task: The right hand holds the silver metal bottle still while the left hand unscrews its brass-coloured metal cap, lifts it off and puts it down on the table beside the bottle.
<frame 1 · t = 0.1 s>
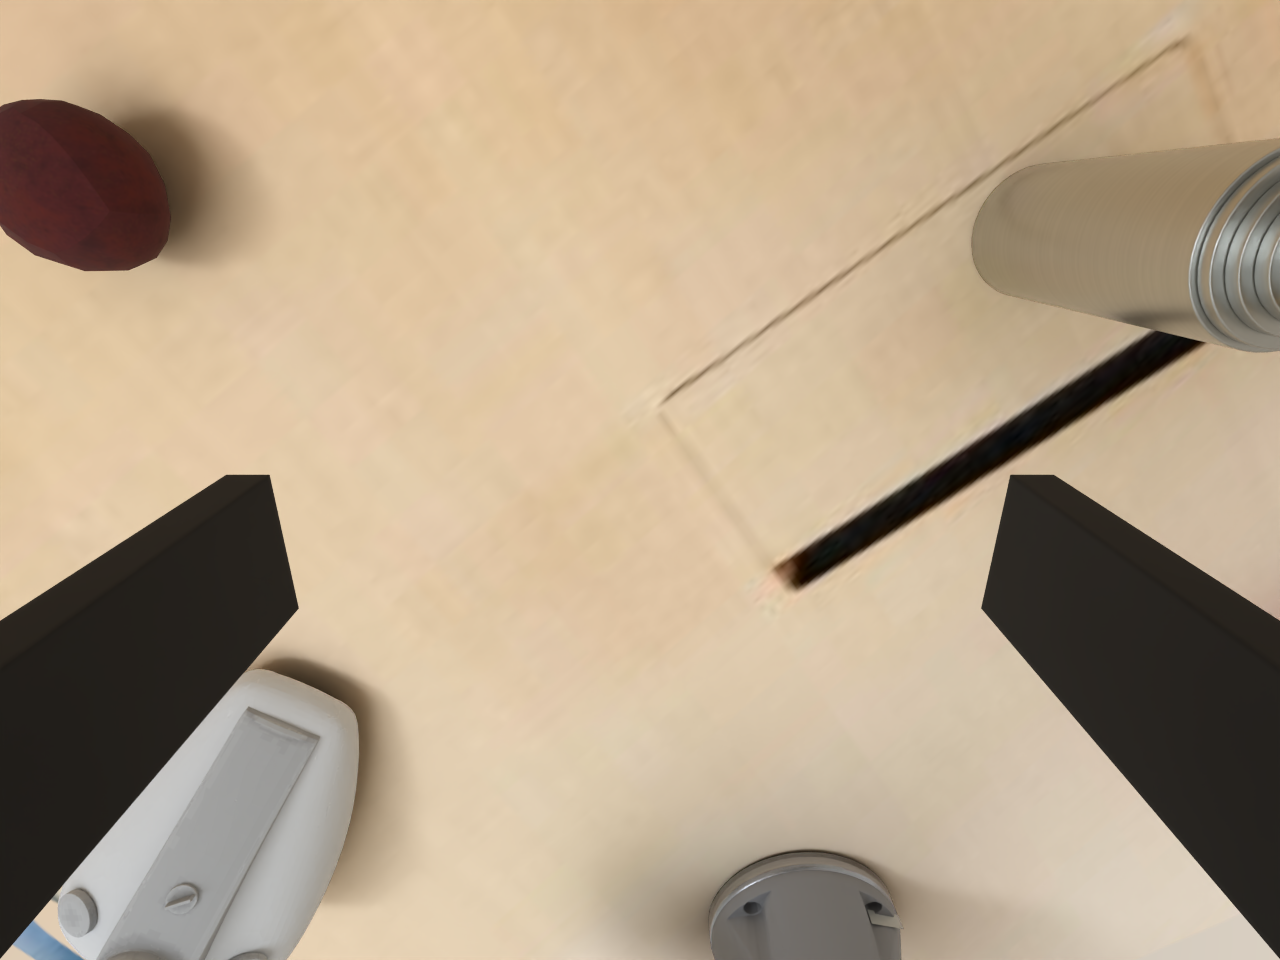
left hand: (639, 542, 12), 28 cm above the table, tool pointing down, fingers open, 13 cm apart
bottle: (1034, 232, 37), on the table
potato: (132, 193, 36), on the table
projector: (259, 778, 51), on the table
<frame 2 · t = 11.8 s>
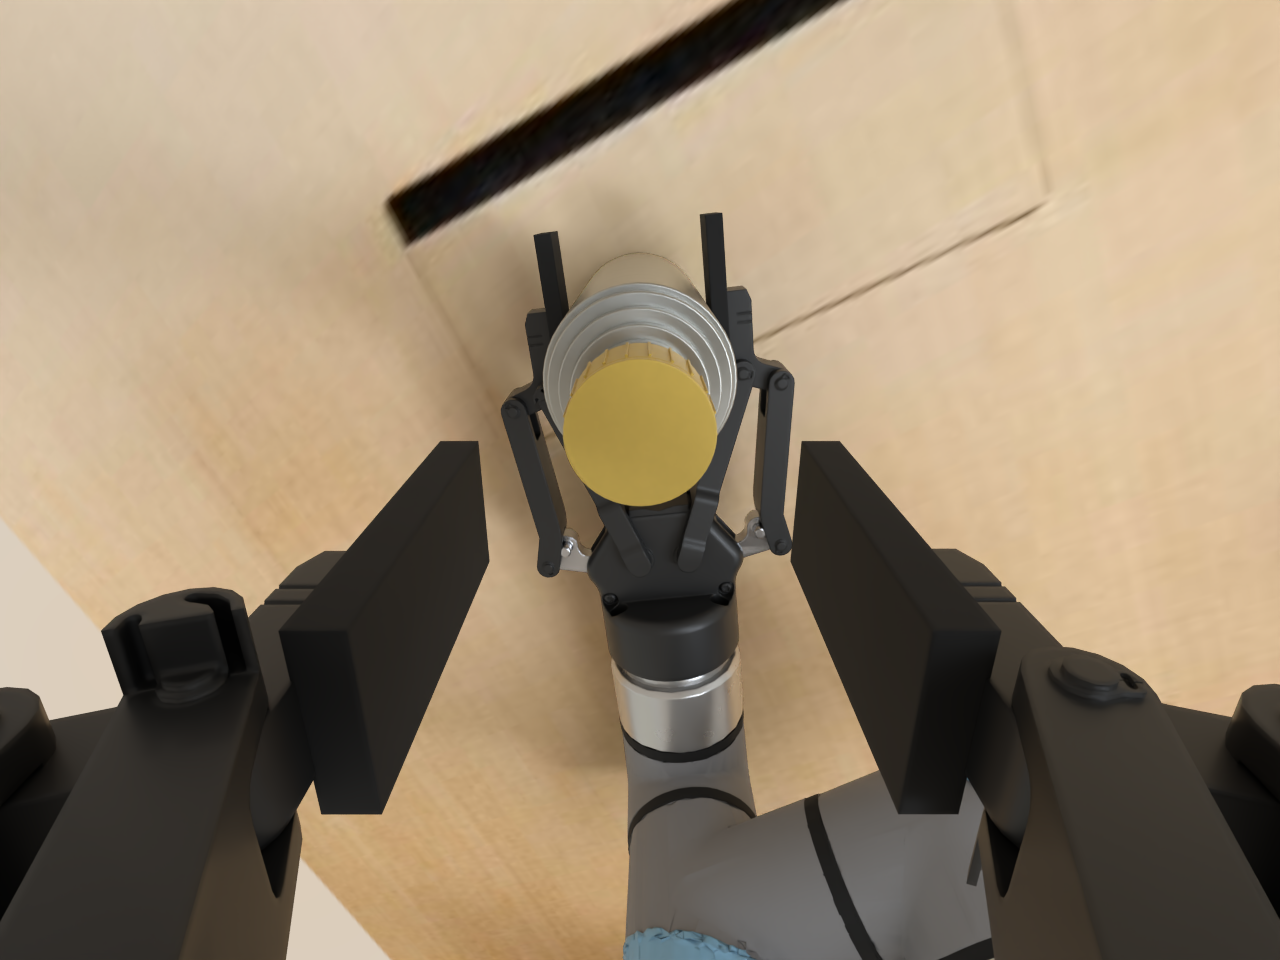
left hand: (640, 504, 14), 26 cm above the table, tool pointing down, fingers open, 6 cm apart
right hand: (627, 224, 31), fingers closed on bottle, 7 cm apart
cap: (640, 432, 18), point 21 cm above the table, screwed on, not yet turned
bottle: (640, 315, 38), on the table, touching right hand
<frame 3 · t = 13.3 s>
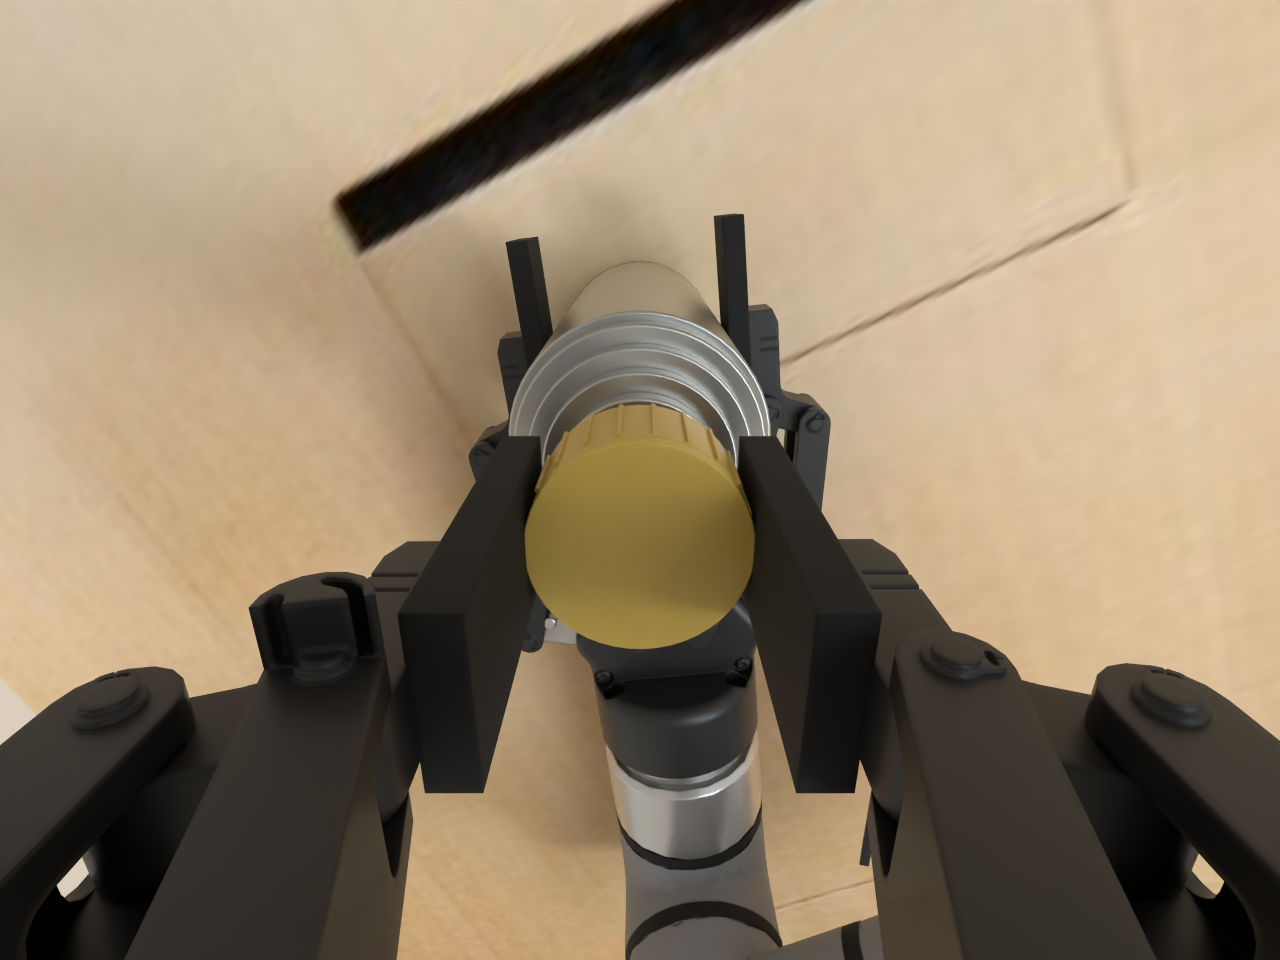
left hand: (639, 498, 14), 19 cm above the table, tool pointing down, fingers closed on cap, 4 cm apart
right hand: (624, 228, 25), fingers closed on bottle, 7 cm apart
cap: (639, 544, 12), point 21 cm above the table, screwed on, not yet turned, touching left hand
bottle: (639, 336, 32), on the table, touching right hand
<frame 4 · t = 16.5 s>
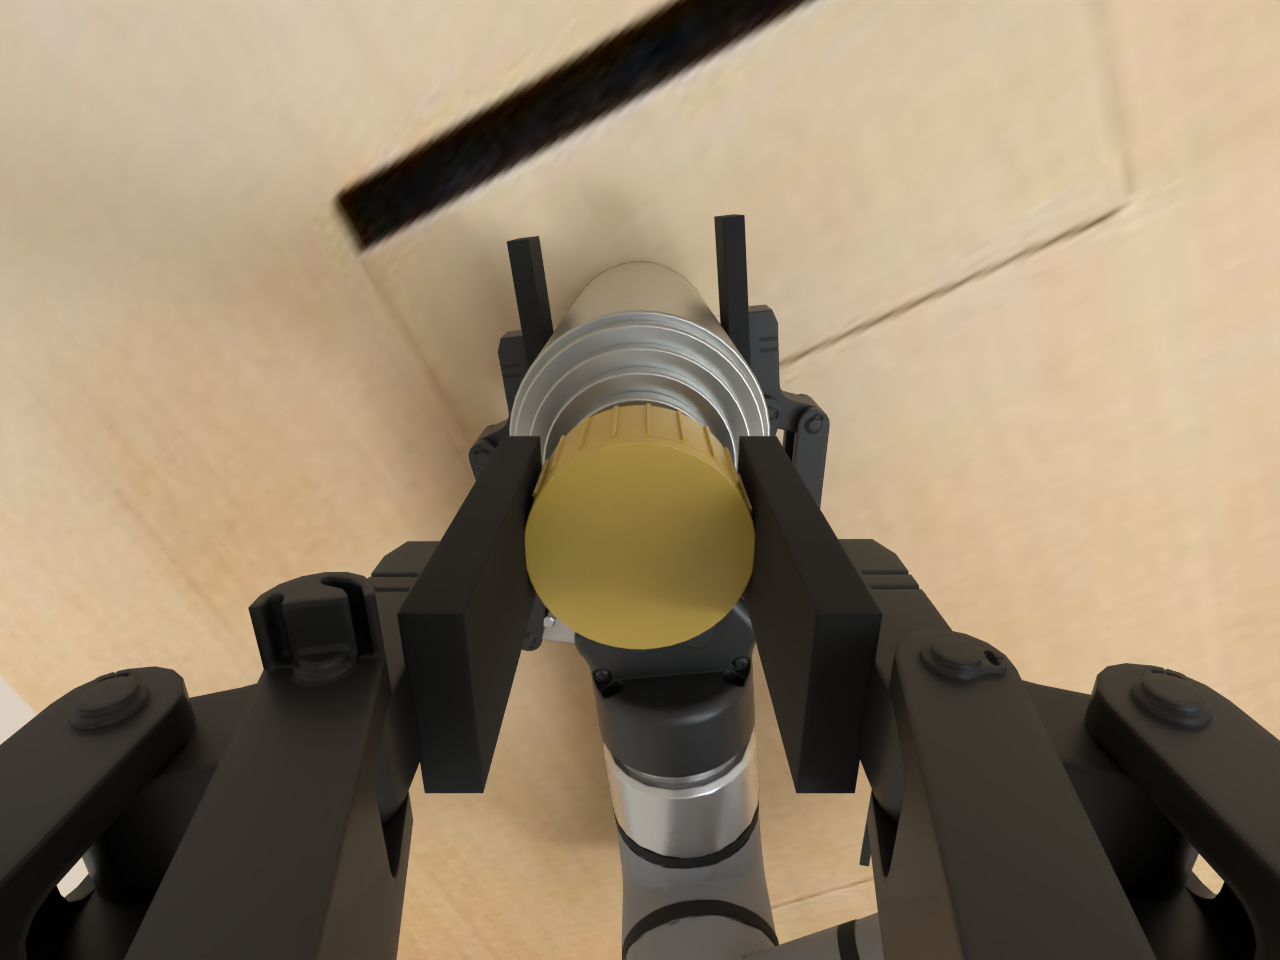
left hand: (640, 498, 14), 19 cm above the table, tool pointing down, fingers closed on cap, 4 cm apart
right hand: (625, 228, 25), fingers closed on bottle, 7 cm apart
cap: (639, 544, 12), point 21 cm above the table, turned 106° so far, risen 0.1 cm, still on its thread, touching left hand
bottle: (639, 336, 32), on the table, touching right hand
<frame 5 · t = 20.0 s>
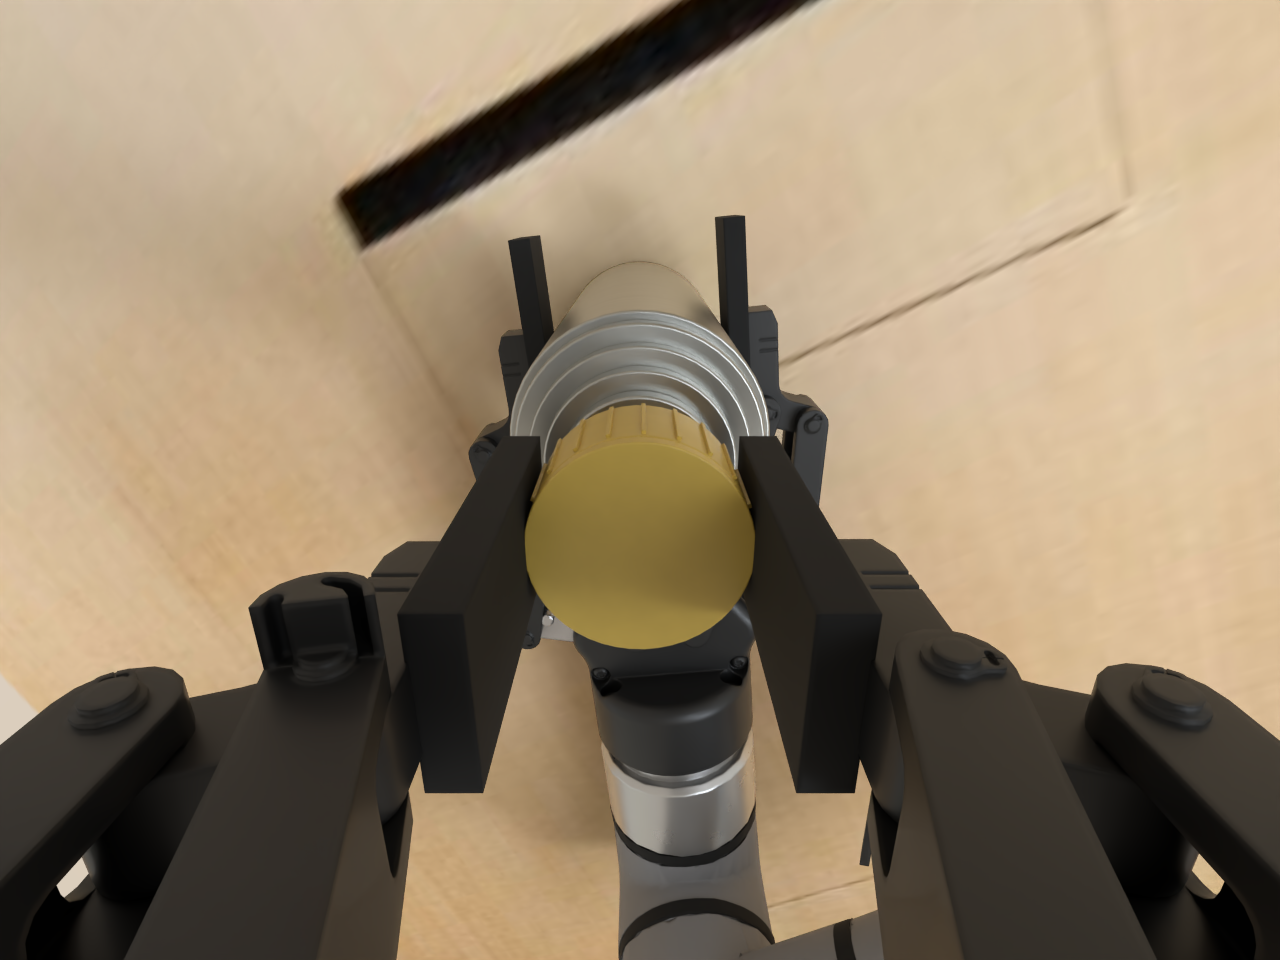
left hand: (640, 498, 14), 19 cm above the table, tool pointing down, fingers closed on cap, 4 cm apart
right hand: (626, 228, 25), fingers closed on bottle, 7 cm apart
cap: (639, 544, 12), point 22 cm above the table, turned 212° so far, risen 0.2 cm, still on its thread, touching left hand
bottle: (639, 336, 32), on the table, touching right hand
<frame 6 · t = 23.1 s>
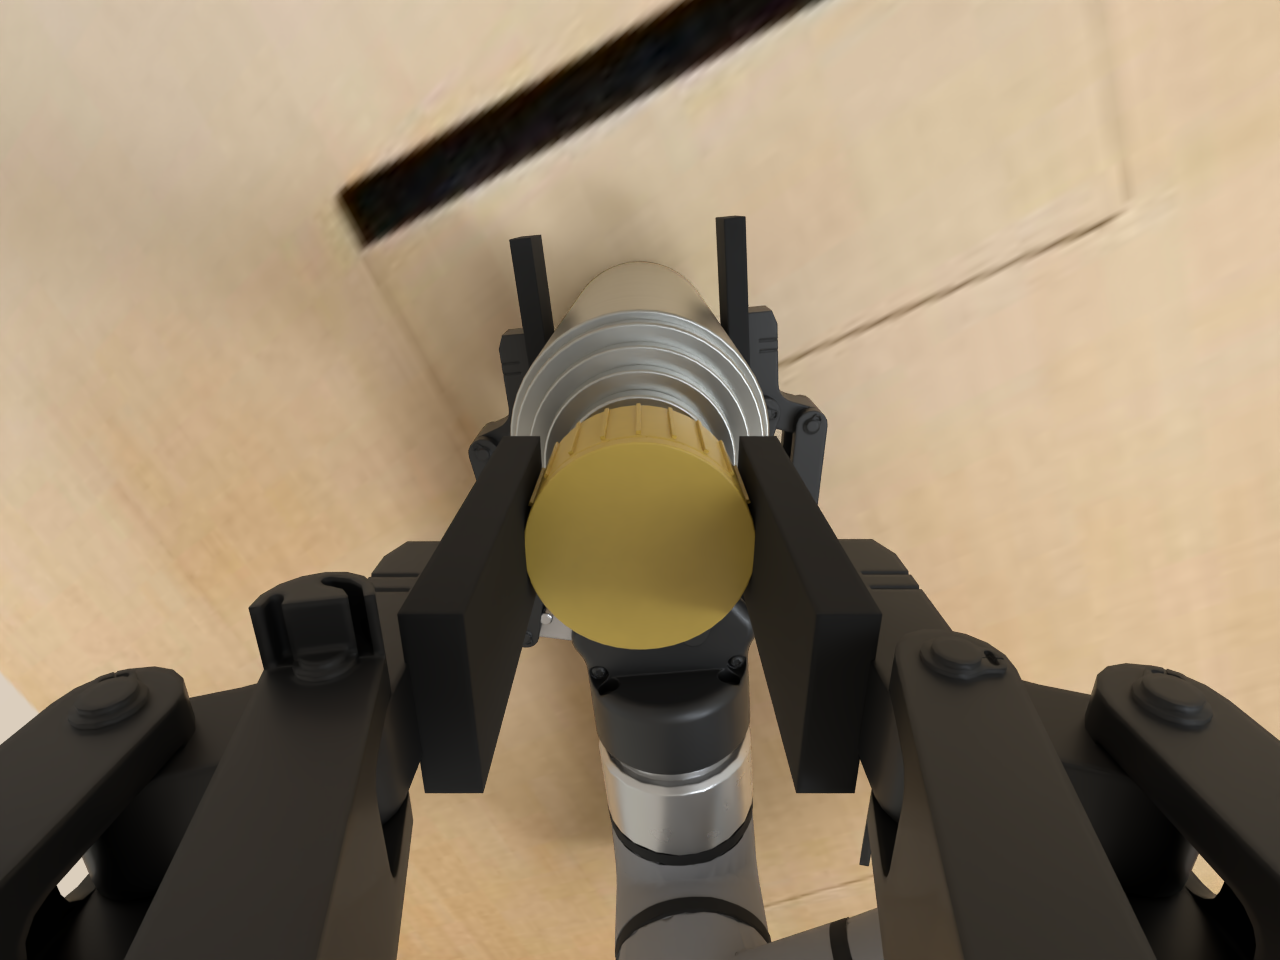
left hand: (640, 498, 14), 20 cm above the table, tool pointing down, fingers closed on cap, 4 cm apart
right hand: (627, 228, 25), fingers closed on bottle, 7 cm apart
cap: (639, 545, 12), point 22 cm above the table, turned 318° so far, risen 0.3 cm, still on its thread, touching left hand
bottle: (639, 335, 32), on the table, touching right hand
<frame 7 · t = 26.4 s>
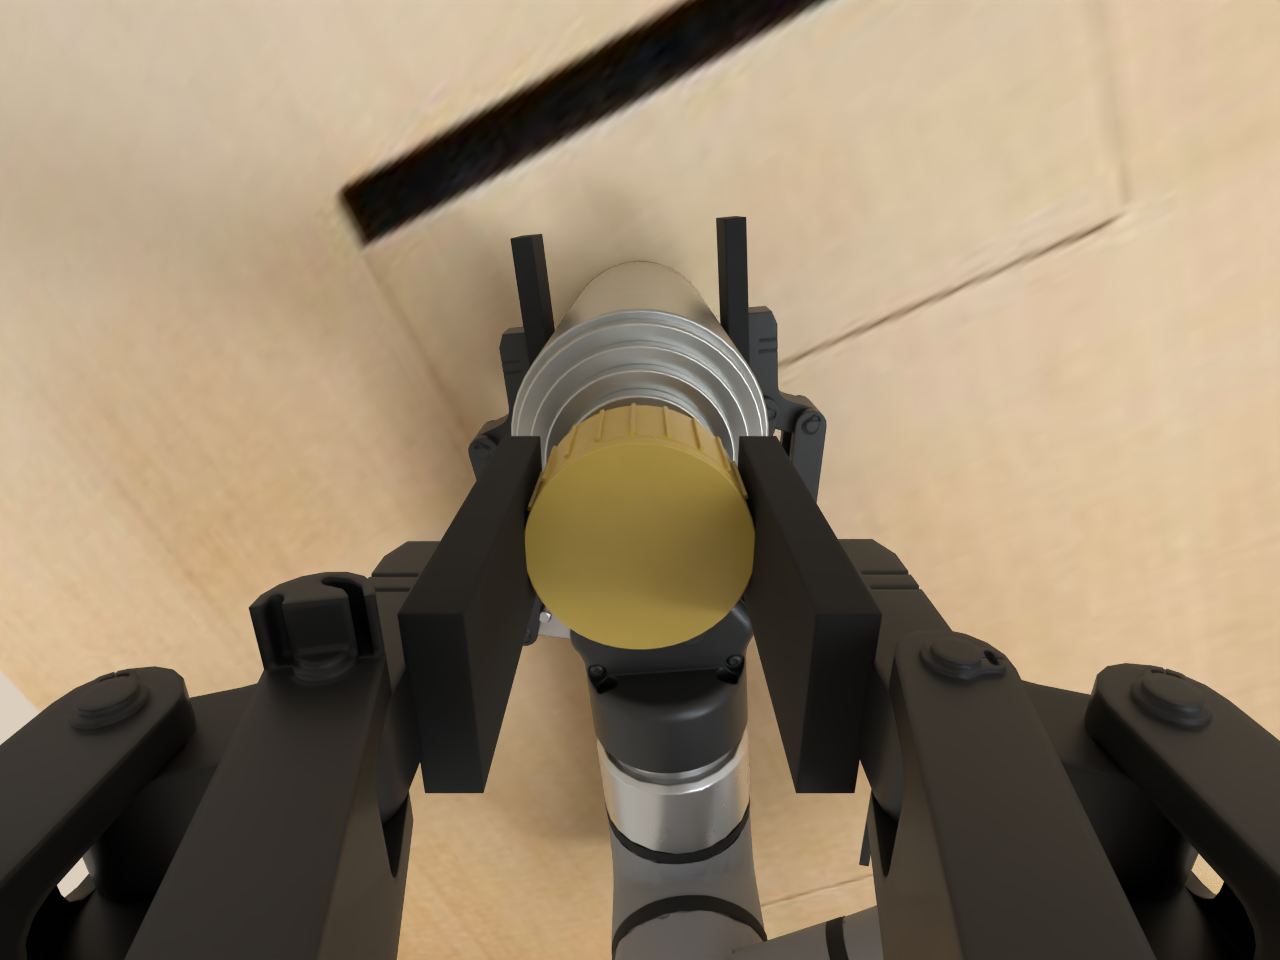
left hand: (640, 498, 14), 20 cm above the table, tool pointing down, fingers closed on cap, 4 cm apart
right hand: (628, 228, 25), fingers closed on bottle, 7 cm apart
cap: (639, 545, 12), point 22 cm above the table, turned 423° so far, risen 0.3 cm, still on its thread, touching left hand
bottle: (639, 335, 32), on the table, touching right hand
when the left hand's fingers open (1 cm above the table, at t = 32.9 s): cap drops 1 cm, point 2 cm above the table.
when the right hand's fingers open (6 cm above the table, at t = 34.1 s): bottle stays where it is, on the table.
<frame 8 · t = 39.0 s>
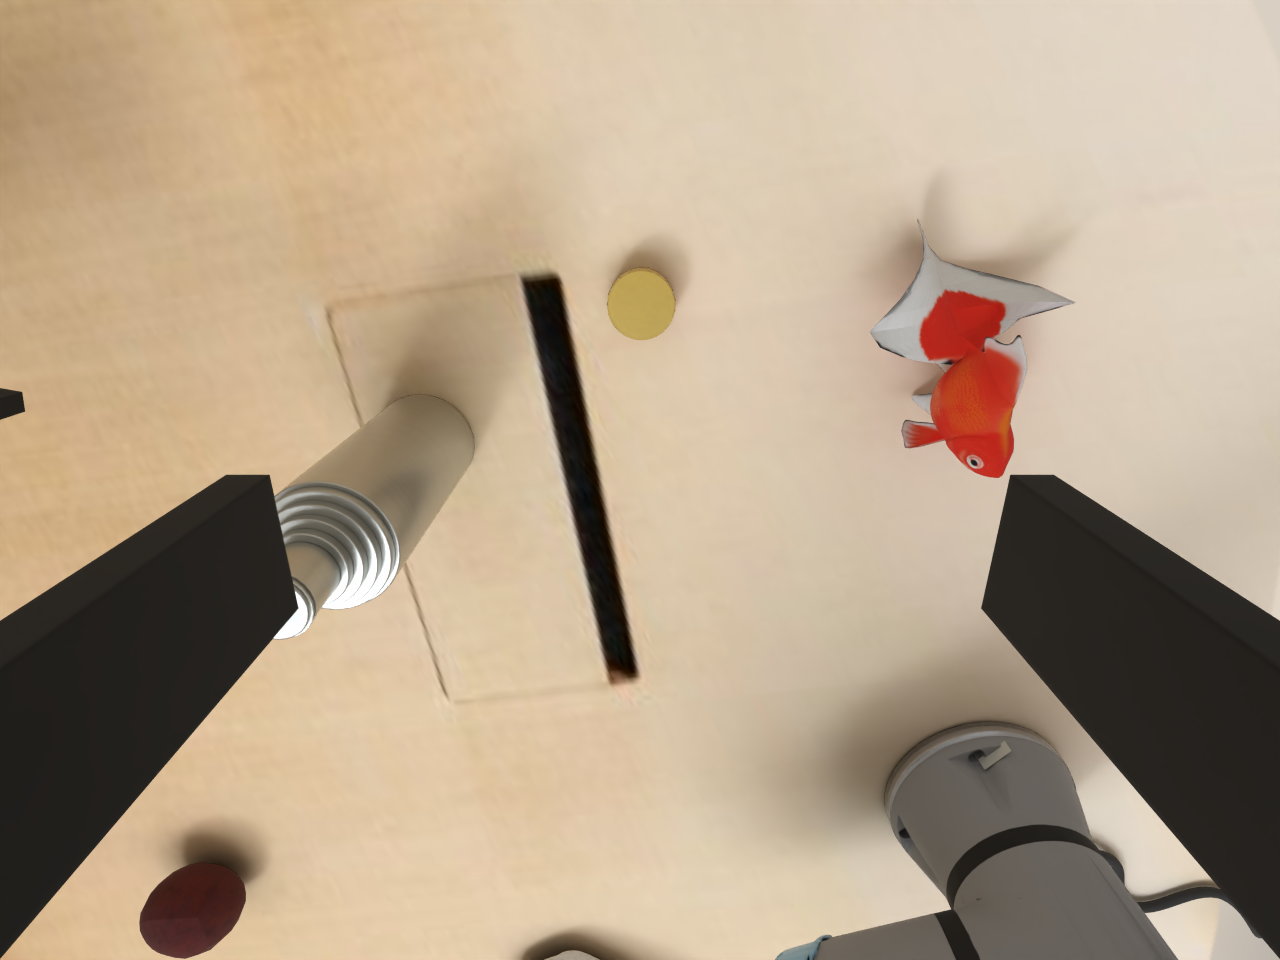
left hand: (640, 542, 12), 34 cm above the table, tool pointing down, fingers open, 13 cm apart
cap: (641, 305, 42), point 2 cm above the table, off its thread
bottle: (425, 441, 47), on the table
potato: (219, 870, 63), on the table
fish: (927, 338, 45), on the table
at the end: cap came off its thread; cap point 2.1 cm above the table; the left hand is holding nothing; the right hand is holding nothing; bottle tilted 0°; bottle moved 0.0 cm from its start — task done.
